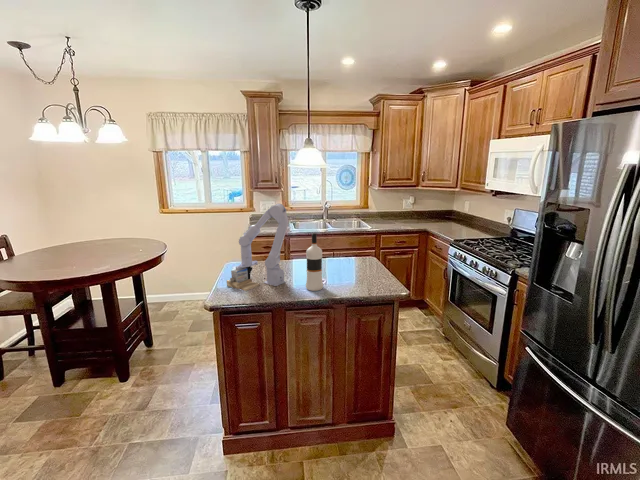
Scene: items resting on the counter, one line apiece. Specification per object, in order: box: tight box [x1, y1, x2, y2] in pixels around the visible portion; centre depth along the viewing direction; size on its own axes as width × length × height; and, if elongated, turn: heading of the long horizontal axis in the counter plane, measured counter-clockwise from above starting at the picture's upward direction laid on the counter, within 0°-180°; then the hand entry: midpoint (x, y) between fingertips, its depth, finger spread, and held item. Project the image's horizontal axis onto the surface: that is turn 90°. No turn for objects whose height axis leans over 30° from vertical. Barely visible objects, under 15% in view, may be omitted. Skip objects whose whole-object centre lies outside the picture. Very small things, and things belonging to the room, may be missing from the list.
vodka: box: [305, 232, 324, 292], centre depth 168 cm, size 9×9×30 cm
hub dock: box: [226, 276, 260, 292], centre depth 175 cm, size 14×11×5 cm
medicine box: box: [230, 268, 248, 283], centre depth 177 cm, size 8×4×9 cm, turn 144°
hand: (247, 279), depth 182 cm, fingers closed
